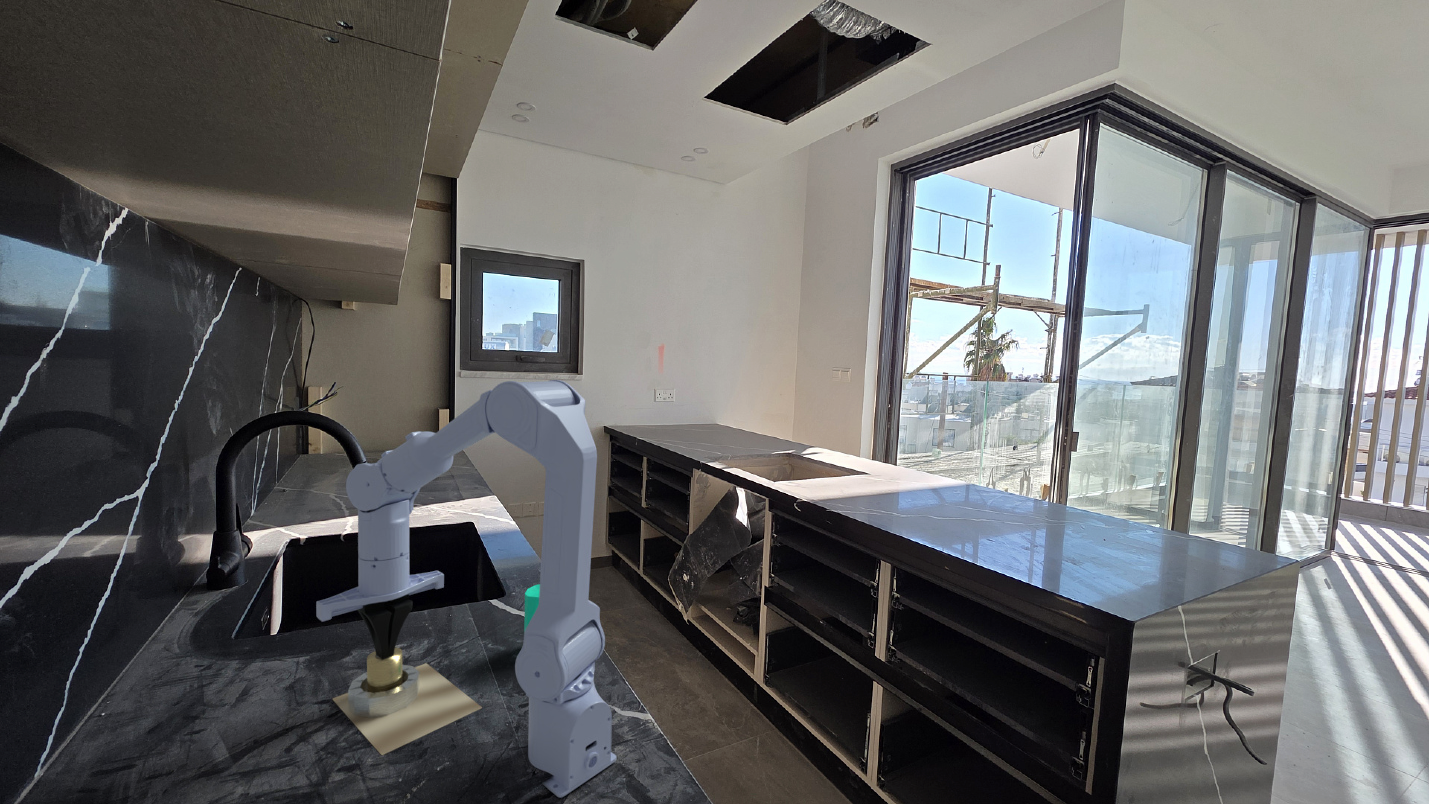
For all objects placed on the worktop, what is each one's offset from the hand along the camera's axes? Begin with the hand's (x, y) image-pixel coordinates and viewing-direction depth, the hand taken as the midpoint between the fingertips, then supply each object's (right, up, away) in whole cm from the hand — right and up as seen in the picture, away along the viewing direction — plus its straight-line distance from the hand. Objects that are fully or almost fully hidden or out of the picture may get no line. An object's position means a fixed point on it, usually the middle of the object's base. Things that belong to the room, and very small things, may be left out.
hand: (384, 655), depth 74 cm
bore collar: (0, -7, 0) cm, 7 cm away
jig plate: (+3, -7, 0) cm, 8 cm away
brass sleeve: (0, -6, 0) cm, 6 cm away
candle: (+16, -7, +15) cm, 23 cm away
